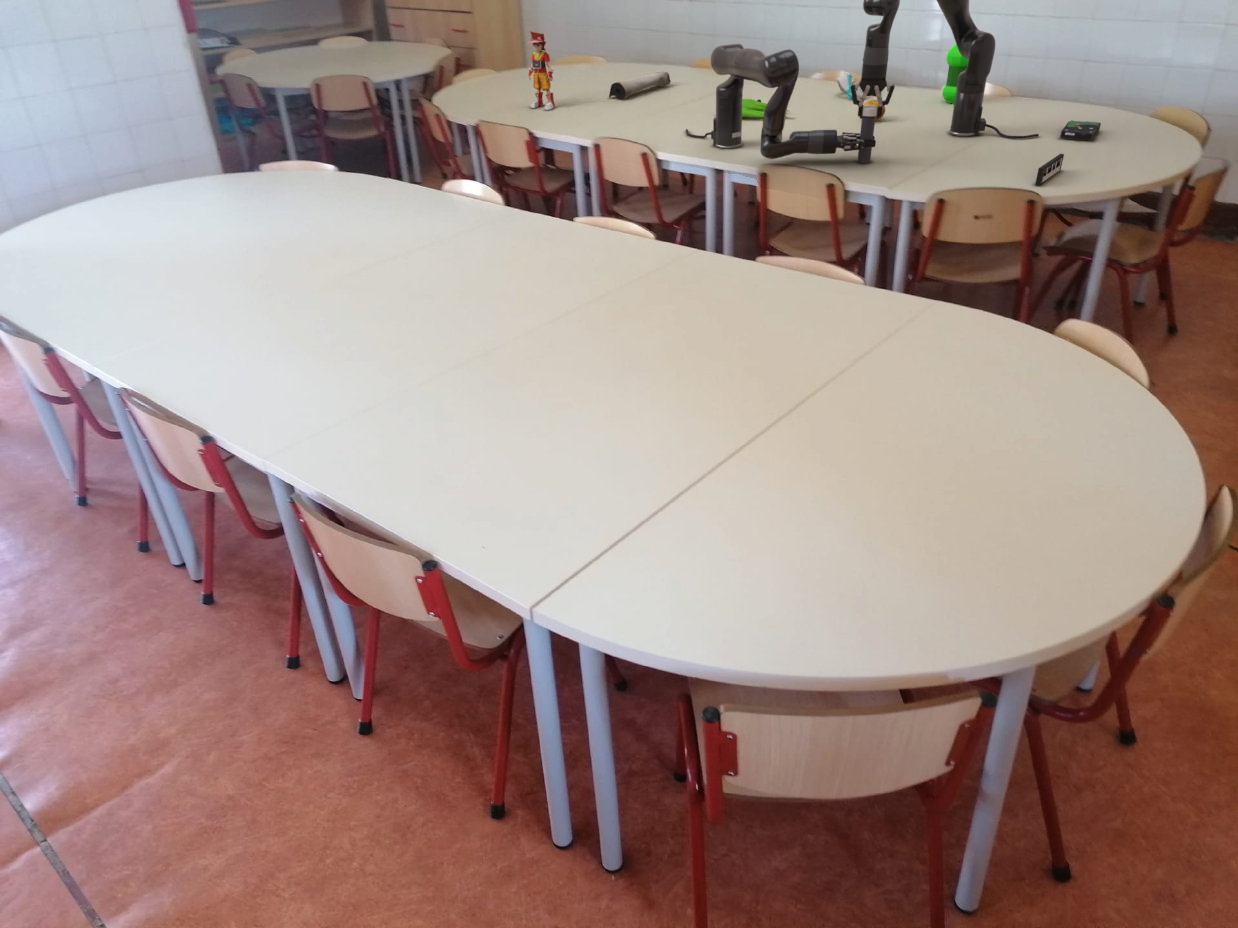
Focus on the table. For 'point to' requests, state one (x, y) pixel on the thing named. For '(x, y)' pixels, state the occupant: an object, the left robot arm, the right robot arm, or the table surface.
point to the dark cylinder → (866, 138)
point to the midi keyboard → (1049, 169)
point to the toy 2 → (753, 108)
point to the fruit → (875, 103)
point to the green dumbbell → (954, 73)
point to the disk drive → (1080, 130)
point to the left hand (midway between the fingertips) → (874, 141)
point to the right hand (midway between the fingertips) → (869, 118)
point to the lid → (870, 110)
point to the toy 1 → (541, 71)
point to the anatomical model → (848, 85)
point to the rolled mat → (638, 84)
